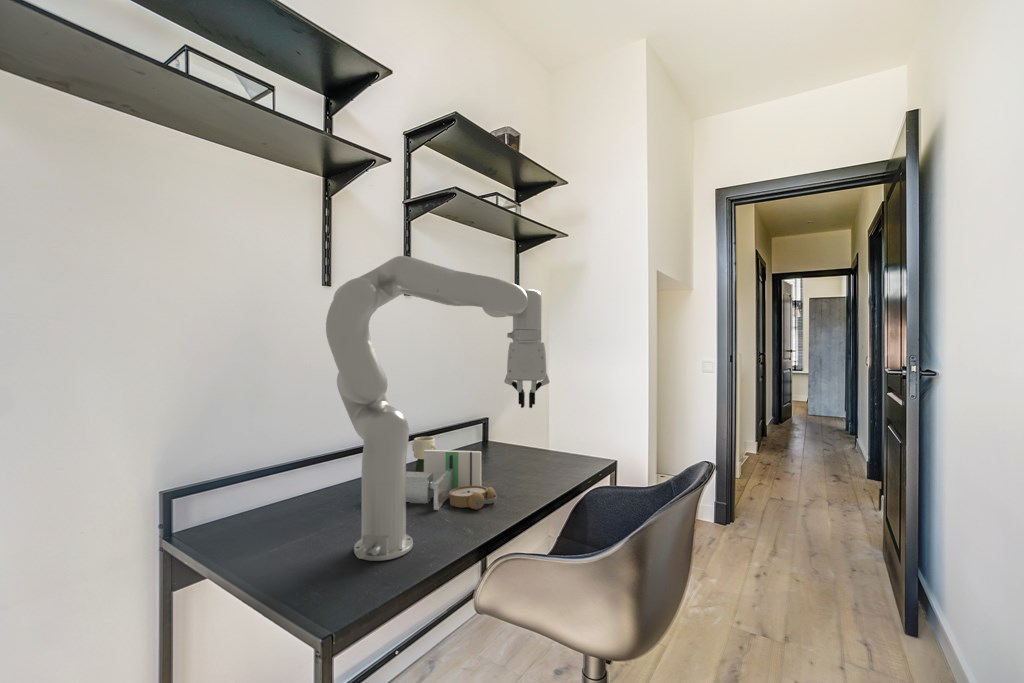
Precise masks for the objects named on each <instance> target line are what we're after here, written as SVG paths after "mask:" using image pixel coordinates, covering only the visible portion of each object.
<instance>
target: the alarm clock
mask: <svg viewBox="0 0 1024 683" xmlns="http://www.w3.org/2000/svg"><path fill="white" fill-rule="evenodd" d="M446 498H447V499H449V505H450V504H451V505H450V506H452V507H454V506H455V508H470V509H471V510H473V509H474V510H475V511H478V510H480V509H482V507H484V505H487V504H488V505H492V504H494V502H497V500H498V494H497V493H496V491H495V488H493V487H491V486H488V487H486V486H483V485H481V486H464V487H459V488H455V489H453V490H451V491H450V492H449V496H446Z"/></svg>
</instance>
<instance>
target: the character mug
mask: <svg viewBox="0 0 1024 683" xmlns="http://www.w3.org/2000/svg"><path fill="white" fill-rule="evenodd" d="M435 441H436V439H435V437H433V436H419V437H415V438H413V442H412V443H411V444H412V447H411V450H412V452H413V457H414V458H415V459H417V460H416V463H415V470H414V472H424V450H438V449H437V448H438V447H437V446H436V442H435Z"/></svg>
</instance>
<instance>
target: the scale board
mask: <svg viewBox="0 0 1024 683" xmlns="http://www.w3.org/2000/svg"><path fill="white" fill-rule="evenodd" d="M450 455H453V489H455V488H459V487H464V486H482V451H478V450H476V451H474V450H443V449H440V450H439V449H437V450H424V472H433V481H437V480H438V479H439V478H440V477H441V476H442V475H443V474H444V473H445V472H446V471H447V469H448V468H449V457H450Z"/></svg>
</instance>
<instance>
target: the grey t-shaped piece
mask: <svg viewBox="0 0 1024 683" xmlns="http://www.w3.org/2000/svg"><path fill="white" fill-rule="evenodd" d="M429 488H433V510H434V511H439V509H440V508H441V507H442V506H443V504H444V503H445V502H446V501H447V499H448V498H446V496H450V495H449V492H450V491H451V490H453V455H450V457H449V468H448V469H447V471H446V472H445V473H444V474H443V475H442V476H441V477H440V478H439V479H438V480H437V481H429Z"/></svg>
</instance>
